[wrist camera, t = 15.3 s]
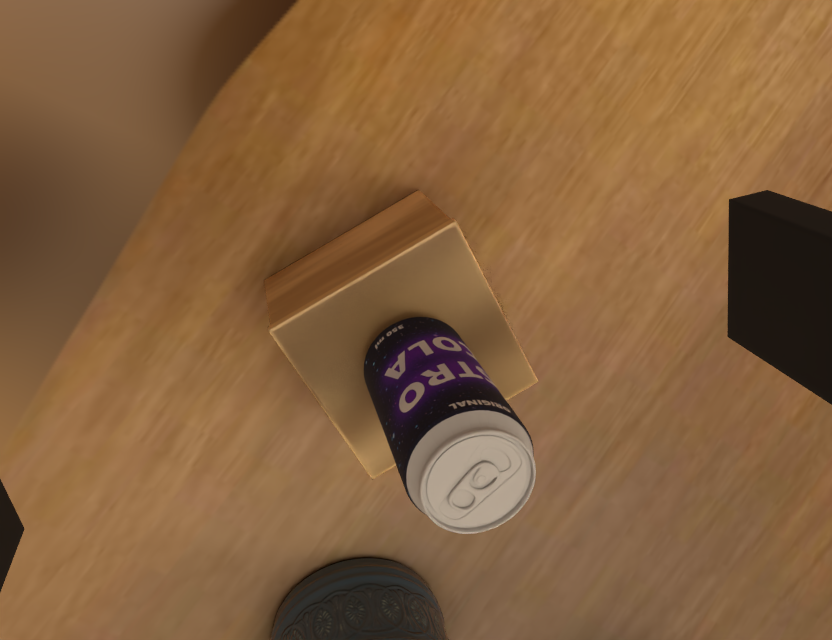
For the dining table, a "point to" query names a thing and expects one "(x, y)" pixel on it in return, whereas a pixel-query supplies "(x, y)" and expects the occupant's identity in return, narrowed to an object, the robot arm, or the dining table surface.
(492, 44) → the dining table surface
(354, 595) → the canister
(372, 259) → the wooden block
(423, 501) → the beverage can
